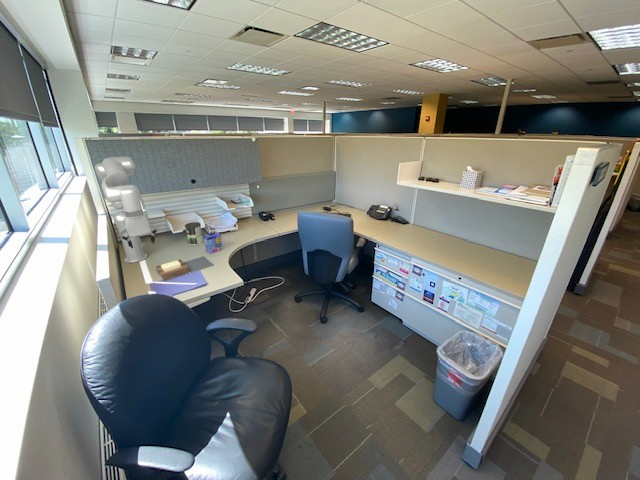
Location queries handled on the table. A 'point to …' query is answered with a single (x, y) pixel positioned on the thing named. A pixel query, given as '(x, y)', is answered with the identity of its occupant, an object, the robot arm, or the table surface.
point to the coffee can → (194, 233)
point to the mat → (198, 264)
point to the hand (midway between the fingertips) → (142, 244)
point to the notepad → (170, 266)
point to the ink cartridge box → (213, 242)
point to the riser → (173, 271)
